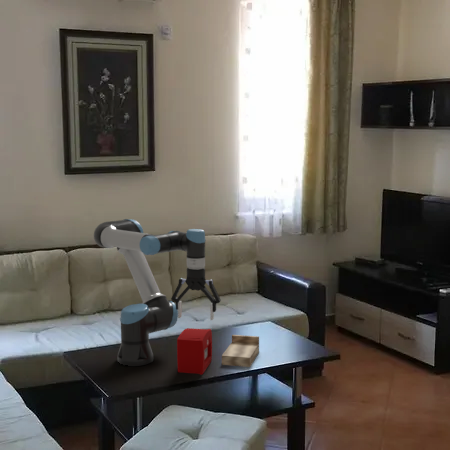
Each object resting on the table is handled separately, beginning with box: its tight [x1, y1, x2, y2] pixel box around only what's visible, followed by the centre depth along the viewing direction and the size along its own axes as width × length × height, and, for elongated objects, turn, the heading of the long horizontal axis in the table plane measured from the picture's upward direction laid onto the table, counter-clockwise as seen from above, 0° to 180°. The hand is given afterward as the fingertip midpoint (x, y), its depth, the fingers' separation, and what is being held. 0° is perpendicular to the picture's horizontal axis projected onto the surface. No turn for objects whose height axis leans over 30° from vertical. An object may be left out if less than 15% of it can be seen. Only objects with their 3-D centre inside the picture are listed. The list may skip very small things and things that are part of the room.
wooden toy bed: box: [221, 334, 260, 368], centre depth 295 cm, size 12×20×7 cm, turn 166°
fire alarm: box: [176, 327, 213, 376], centre depth 283 cm, size 16×11×15 cm
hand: (195, 318), depth 282 cm, fingers open, 13 cm apart
